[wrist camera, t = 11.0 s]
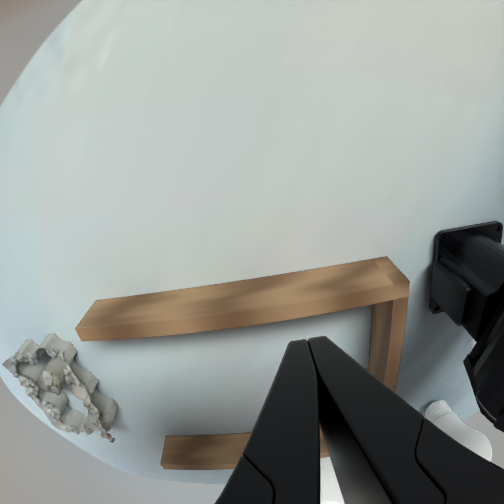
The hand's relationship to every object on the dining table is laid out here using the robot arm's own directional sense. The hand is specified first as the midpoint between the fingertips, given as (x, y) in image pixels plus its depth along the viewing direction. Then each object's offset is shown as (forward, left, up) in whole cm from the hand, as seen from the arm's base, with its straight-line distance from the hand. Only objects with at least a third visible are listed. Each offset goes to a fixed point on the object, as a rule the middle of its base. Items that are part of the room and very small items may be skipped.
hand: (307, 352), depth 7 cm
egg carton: (+20, +12, -12) cm, 26 cm away
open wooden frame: (+3, +13, -12) cm, 18 cm away
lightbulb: (-14, +22, -12) cm, 29 cm away
